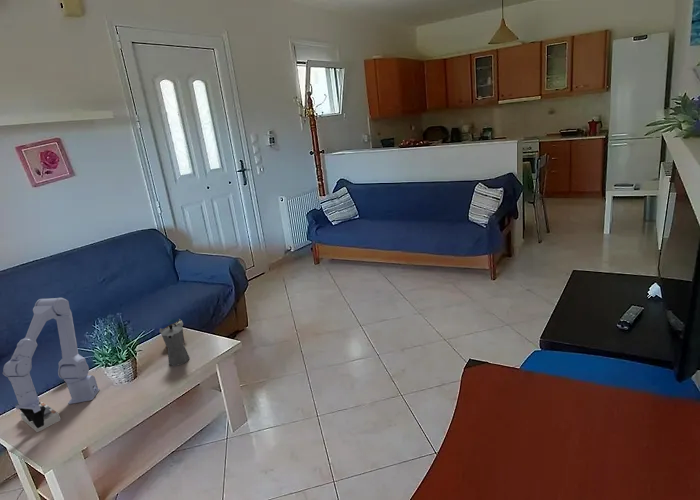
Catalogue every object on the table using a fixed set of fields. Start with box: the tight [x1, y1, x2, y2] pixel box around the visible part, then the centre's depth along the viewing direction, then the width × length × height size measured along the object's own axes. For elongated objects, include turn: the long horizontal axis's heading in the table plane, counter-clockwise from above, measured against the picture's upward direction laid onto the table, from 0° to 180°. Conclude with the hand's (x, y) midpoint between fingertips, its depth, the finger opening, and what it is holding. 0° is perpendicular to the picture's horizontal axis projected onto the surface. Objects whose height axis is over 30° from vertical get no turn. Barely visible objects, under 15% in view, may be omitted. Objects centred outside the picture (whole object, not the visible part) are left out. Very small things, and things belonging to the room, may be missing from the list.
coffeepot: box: [160, 323, 191, 367], centre depth 205 cm, size 15×9×18 cm, turn 13°
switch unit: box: [19, 401, 61, 433], centre depth 173 cm, size 8×16×3 cm, turn 53°
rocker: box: [44, 409, 51, 417], centre depth 169 cm, size 6×4×2 cm, turn 143°
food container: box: [159, 318, 185, 340], centre depth 224 cm, size 12×6×10 cm, turn 147°
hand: (36, 423), depth 164 cm, fingers open, 7 cm apart
